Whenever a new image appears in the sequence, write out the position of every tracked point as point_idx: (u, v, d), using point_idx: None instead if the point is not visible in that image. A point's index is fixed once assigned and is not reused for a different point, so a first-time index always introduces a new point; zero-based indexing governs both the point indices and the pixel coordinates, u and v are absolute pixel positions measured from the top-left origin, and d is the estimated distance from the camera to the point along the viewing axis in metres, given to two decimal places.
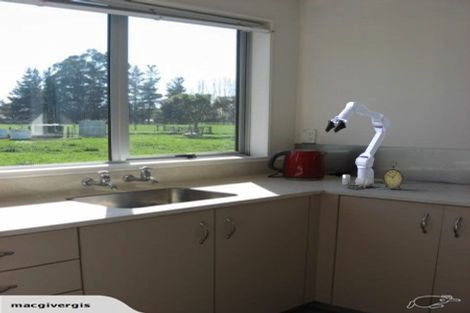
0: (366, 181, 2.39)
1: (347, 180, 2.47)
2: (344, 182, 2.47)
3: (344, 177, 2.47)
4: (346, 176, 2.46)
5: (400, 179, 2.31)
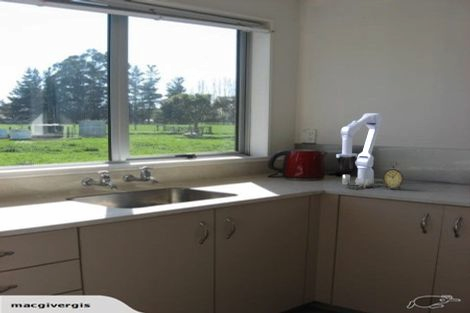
0: (366, 181, 2.39)
1: (347, 180, 2.47)
2: (344, 182, 2.47)
3: (344, 177, 2.47)
4: (346, 176, 2.46)
5: (400, 179, 2.31)
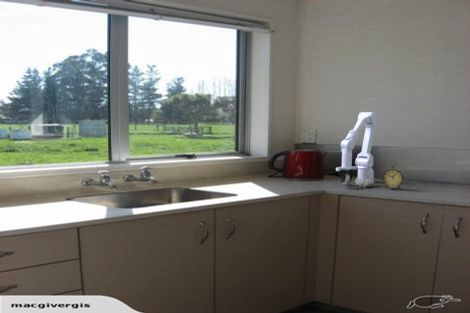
0: (366, 181, 2.39)
1: (347, 180, 2.47)
2: (344, 182, 2.47)
3: None
4: (346, 176, 2.46)
5: (400, 179, 2.31)
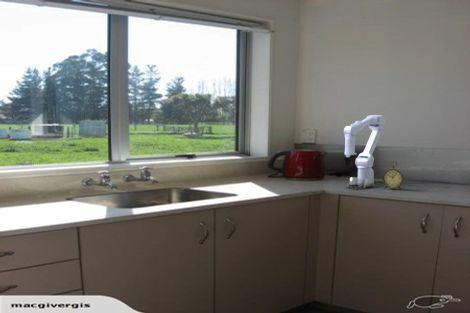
0: (366, 181, 2.39)
1: None
2: (355, 185, 2.35)
3: (355, 180, 2.35)
4: (357, 179, 2.36)
5: (400, 179, 2.31)
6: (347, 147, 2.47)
